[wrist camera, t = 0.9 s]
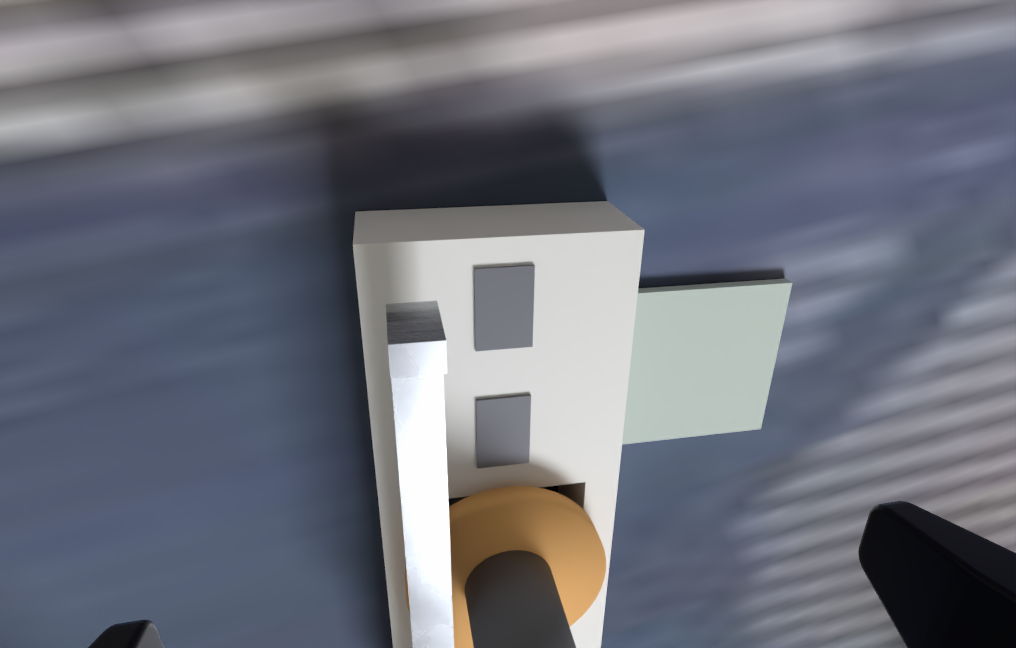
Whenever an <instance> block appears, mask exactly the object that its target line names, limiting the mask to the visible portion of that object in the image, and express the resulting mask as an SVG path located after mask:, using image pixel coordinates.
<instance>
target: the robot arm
mask: <svg viewBox="0 0 1016 648" xmlns="http://www.w3.org/2000/svg"><path fill="white" fill-rule="evenodd" d="M859 560H860V563H861V566H862V568H863V570H864V572H865V574H866V576H867V577H868V579H869V581H870V583H871V584H872V586H873V588H874V590H875V591H876V593H877V595H878V597H879V599H880V600H881V602H882V604H883V606H884V607H885V609H886V611H887V613H888V614H889V616H890V618H891V620H892V621H893V623H894V625H895V627H896V628H897V630H898V632H899V634H900V636H901V637H902V639H903V641H904V643H905V644H906V646H907V648H1016V553H1014V552H1012V551H1010V550H1008V549H1006V548H1004V547H1002V546H1000V545H998V544H995V543H993V542H991V541H989V540H987V539H985V538H983V537H981V536H979V535H977V534H974V533H972V532H970V531H968V530H966V529H964V528H962V527H960V526H958V525H955V524H953V523H951V522H949V521H947V520H945V519H943V518H941V517H939V516H937V515H934V514H932V513H930V512H928V511H926V510H924V509H922V508H920V507H918V506H915V505H913V504H911V503H909V502H904V501H898V502H891V503H885V504H879V505H876V506H875V507H873V508H872V510H871V511H870V513H869V517H868V520H867V523H866V526H865V530H864V533H863V536H862V539H861V543H860V546H859ZM88 648H164V646H163V644H162V641H161V639H160V636H159V633H158V631H157V628H156V626H155V625H154V623H153V622H152V621H150V620H139V621H133V622H126V623H120V624H115V625H113V626H111V627H109V628H108V629H106V630H105V631H104V632H103V633H102V634H101V635H100V636H99V637H98V638H97V639H96V640H95V641H94V642H93V643H92V644H91V645H90V646H89V647H88Z"/></svg>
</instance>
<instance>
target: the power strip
mask: <svg viewBox="0 0 1016 648" xmlns="http://www.w3.org/2000/svg"><path fill="white" fill-rule="evenodd" d="M643 239H644V229H643V228H642V227H640V226H639V225H638V224H636V223H635V222H634V221H633V220H631V219H630V218H629V217H628V216H626V215H625V214H624V213H622V212H621V211H620V210H619V209H617V208H616V207H615V206H613V205H612V204H611V203H610V202H608V201H597V202H573V203H549V204H525V205H501V206H477V207H453V208H429V209H405V210H381V211H357V212H355V223H354V235H353V253H354V263H355V273H356V283H357V293H358V303H359V313H360V323H361V333H362V343H363V353H364V363H365V373H366V383H367V393H368V403H369V413H370V423H371V433H372V443H373V453H374V462H375V472H376V482H377V492H378V502H379V512H380V522H381V532H382V542H383V552H384V562H385V572H386V582H387V592H388V602H389V612H390V622H391V632H392V642H393V648H413V644H412V631H411V619H410V613H409V610H408V607H407V601H406V588H405V566H406V557H405V544H404V532H403V519H402V507H401V494H400V482H399V470H398V457H397V445H396V432H395V420H394V408H393V395H392V383H391V379H390V367H389V354H388V340H387V320H386V304H394V303H409V302H424V301H437V302H438V307H439V311H440V316H441V320H442V324H443V329H444V333H445V337H446V348H447V374H443V378H444V403H445V428H446V454H447V479H448V499H449V498H458V497H466V496H472V495H474V494H477V493H480V492H483V491H487V490H491V489H496V488H502V487H512V486H529V487H537V488H540V487H549V486H557V485H558V493H559V494H561V495H564V496H566V497H568V498H569V499H571V500H572V501H574V502H575V503H577V504H578V505H579V506H580V507H581V508H583V510H584V511H585V512H586V513H587V514H588V516H589V517H590V519H591V520H592V522H593V524H594V526H595V528H596V531H597V533H598V535H599V538H600V540H601V542H602V545H603V548H604V551H605V556H606V573H605V578H604V582H603V584H602V587H601V590H600V592H599V594H598V596H597V598H596V599H595V601H594V602H593V603H592V605H591V606H590V608H589V609H588V610H587V611H586V612H585V613H584V615H583V616H582V617H581V618H579V619H578V620H577V621H576V622H575V623H574V624H573V625H571V626H570V630H571V633H572V636H573V639H574V642H575V645H576V648H601V639H602V630H603V620H604V611H605V601H606V592H607V582H608V573H609V563H610V554H611V544H612V535H613V525H614V516H615V506H616V496H617V487H618V477H619V468H620V458H621V449H622V439H623V430H624V420H625V411H626V401H627V392H628V382H629V373H630V363H631V354H632V344H633V334H634V325H635V315H636V306H637V296H638V287H639V277H640V268H641V258H642V249H643Z"/></svg>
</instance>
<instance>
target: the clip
mask: <svg viewBox="0 0 1016 648" xmlns="http://www.w3.org/2000/svg"><path fill="white" fill-rule="evenodd" d="M386 320H387V340H388V354H389V367H390V379H391V383H392V395H393V408H394V420H395V432H396V445H397V457H398V470H399V482H400V494H401V507H402V519H403V532H404V544H405V557H406V569H407V581H408V594H409V606H410V619H411V631H412V644H413V648H454V630H453V605H452V580H451V554H450V529H449V504H448V479H447V454H446V428H445V403H444V378H443V374H447V348H446V337H445V333H444V329H443V324H442V320H441V316H440V311H439V307H438V302H437V301H424V302H409V303H394V304H386Z"/></svg>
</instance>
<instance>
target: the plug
mask: <svg viewBox="0 0 1016 648" xmlns="http://www.w3.org/2000/svg"><path fill="white" fill-rule="evenodd" d="M448 504H449V529H450V554H451V580H452V605H453V630H454V648H576V645H575V642H574V639H573V636H572V633H571V630H570V626H571V625H573V624H574V623H575V622H576V621H577V620H578V619H579V618H581V617H582V616H583V615H584V613H585V612H586V611H587V610H588V609H589V608H590V606H591V605H592V603H593V602H594V601H595V599H596V598H597V596H598V594H599V592H600V590H601V587H602V584H603V582H604V578H605V573H606V556H605V551H604V548H603V545H602V542H601V540H600V538H599V535H598V533H597V531H596V528H595V526H594V524H593V522H592V520H591V519H590V517H589V516H588V514H587V513H586V512H585V511H584V510H583V508H581V507H580V506H579V505H578V504H577V503H575V502H574V501H572V500H571V499H569V498H568V497H566V496H564V495H561V494H559V493H557V492H554V491H551V490H547V489H545V487H540V488H537V487H529V486H512V487H502V488H496V489H491V490H487V491H483V492H480V493H477V494H474V495H472V496H466V497H458V498H449V499H448ZM405 588H406V601H407V607H408V610H409V613H410V606H409V594H408V581H407V569H406V566H405Z"/></svg>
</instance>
